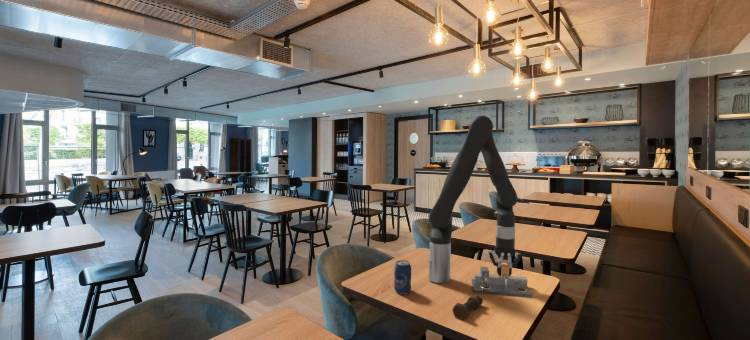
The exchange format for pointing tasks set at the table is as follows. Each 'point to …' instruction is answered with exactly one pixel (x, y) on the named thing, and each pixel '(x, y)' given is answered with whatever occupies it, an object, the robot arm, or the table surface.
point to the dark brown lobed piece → (467, 307)
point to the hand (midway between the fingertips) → (504, 275)
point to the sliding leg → (505, 272)
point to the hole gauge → (499, 284)
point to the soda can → (402, 277)
